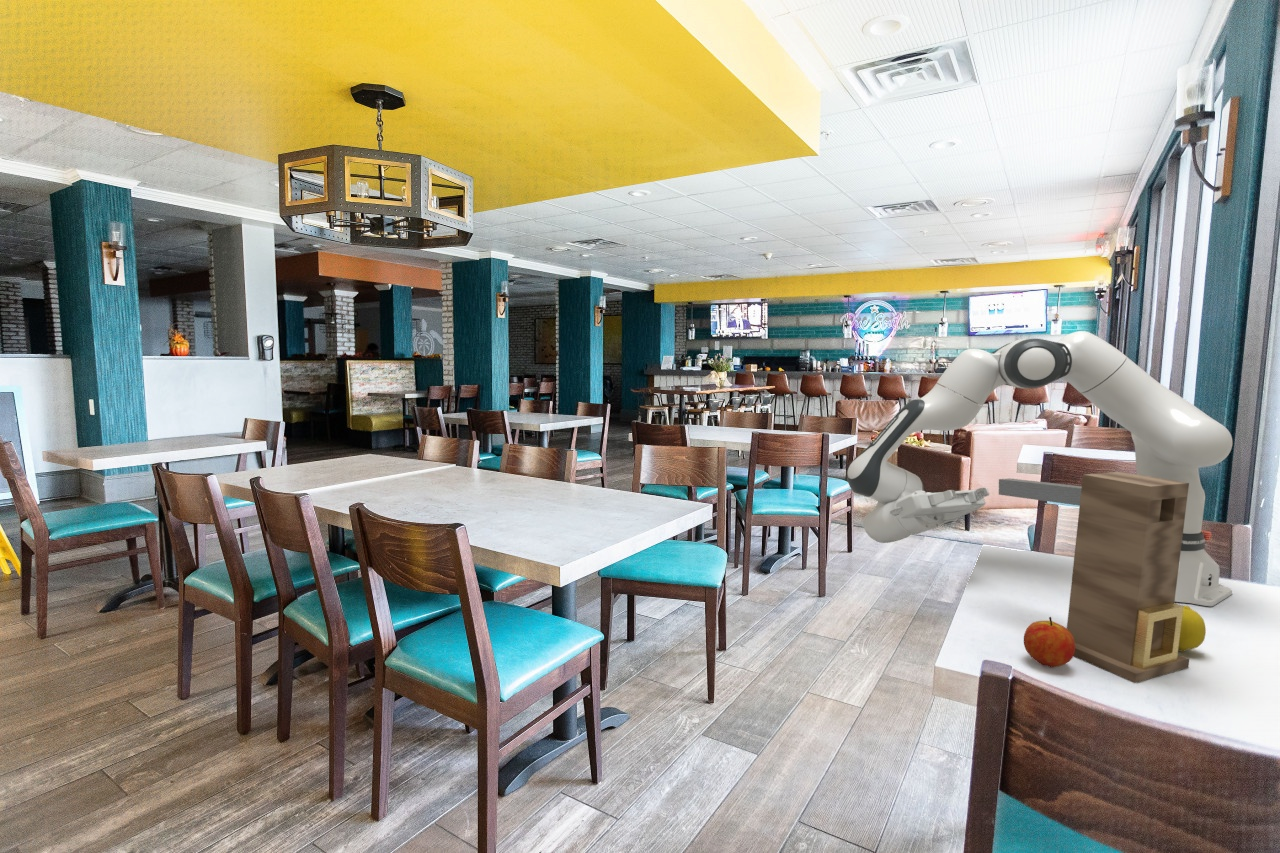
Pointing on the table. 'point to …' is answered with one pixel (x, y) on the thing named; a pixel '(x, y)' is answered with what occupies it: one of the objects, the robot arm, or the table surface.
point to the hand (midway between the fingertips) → (970, 492)
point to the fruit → (1049, 643)
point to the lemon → (1191, 630)
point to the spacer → (1145, 631)
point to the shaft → (1040, 491)
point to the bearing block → (1124, 567)
